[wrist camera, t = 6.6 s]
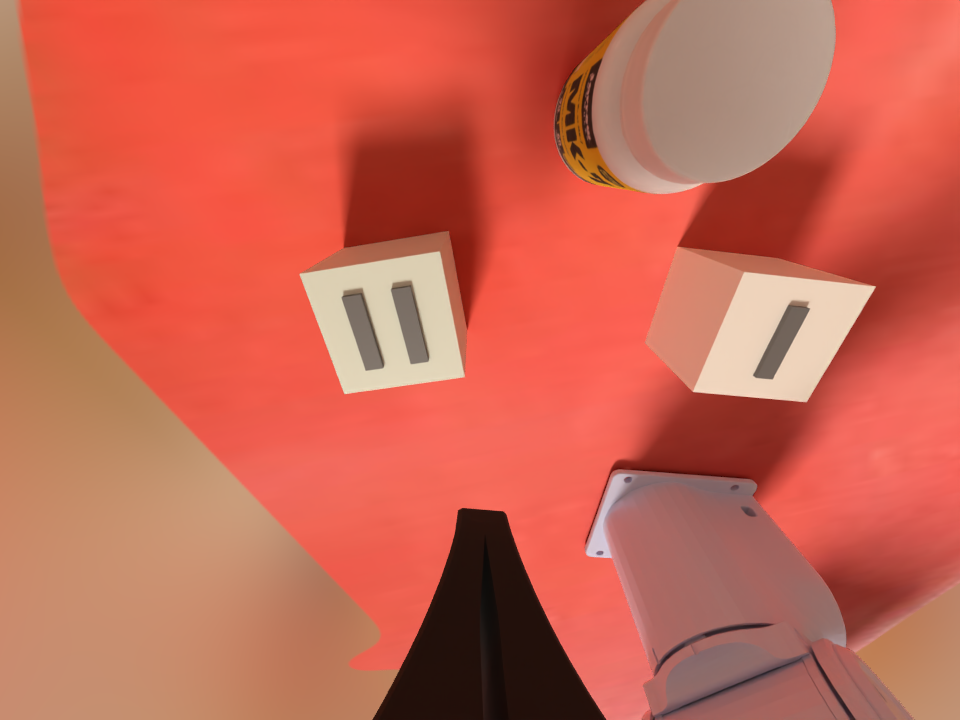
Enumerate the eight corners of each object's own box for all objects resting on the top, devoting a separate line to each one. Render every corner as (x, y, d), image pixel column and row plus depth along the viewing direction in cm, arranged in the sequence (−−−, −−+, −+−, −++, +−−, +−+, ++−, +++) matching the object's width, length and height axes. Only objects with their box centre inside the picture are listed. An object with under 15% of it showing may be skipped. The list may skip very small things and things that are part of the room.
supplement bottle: (533, 90, 15) (592, 9, 7) (649, 20, 14) (856, -157, 6) (575, 206, 17) (656, 236, 9) (680, 151, 16) (865, 135, 8)
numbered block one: (776, 257, 18) (880, 288, 13) (733, 350, 20) (810, 404, 16) (676, 246, 18) (747, 273, 13) (644, 342, 20) (695, 394, 15)
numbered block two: (449, 230, 17) (439, 252, 13) (467, 329, 19) (464, 379, 15) (344, 247, 18) (297, 275, 13) (373, 343, 20) (343, 396, 15)
